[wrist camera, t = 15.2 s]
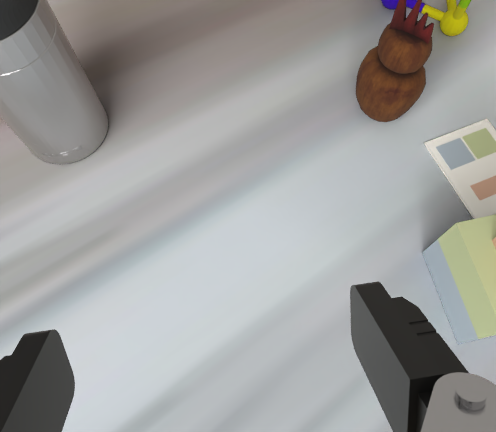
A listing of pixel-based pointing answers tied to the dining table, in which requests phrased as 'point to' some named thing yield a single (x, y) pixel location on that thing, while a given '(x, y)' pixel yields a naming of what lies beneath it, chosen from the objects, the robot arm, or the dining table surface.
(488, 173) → the page
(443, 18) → the educational toy
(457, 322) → the pedestal
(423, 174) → the dining table surface
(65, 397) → the robot arm
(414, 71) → the wooden figurine
